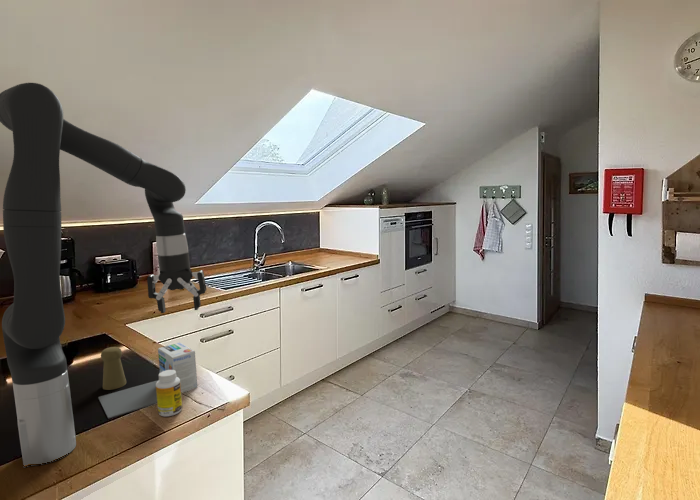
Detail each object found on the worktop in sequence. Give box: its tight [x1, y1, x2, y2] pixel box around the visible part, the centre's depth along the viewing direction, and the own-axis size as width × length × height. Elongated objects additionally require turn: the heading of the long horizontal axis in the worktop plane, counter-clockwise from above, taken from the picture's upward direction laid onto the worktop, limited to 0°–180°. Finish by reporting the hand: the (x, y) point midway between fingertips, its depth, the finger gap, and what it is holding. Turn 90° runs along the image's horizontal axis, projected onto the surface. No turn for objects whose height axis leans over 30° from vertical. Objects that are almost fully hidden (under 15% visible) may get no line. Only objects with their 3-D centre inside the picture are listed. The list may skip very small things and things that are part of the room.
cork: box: [100, 346, 127, 391], centre depth 119 cm, size 6×6×11 cm
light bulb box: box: [157, 342, 198, 394], centre depth 118 cm, size 11×7×11 cm, turn 45°
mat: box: [97, 380, 158, 419], centre depth 112 cm, size 15×14×1 cm
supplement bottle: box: [156, 370, 183, 418], centre depth 104 cm, size 6×6×10 cm
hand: (180, 310), depth 112 cm, fingers open, 8 cm apart
